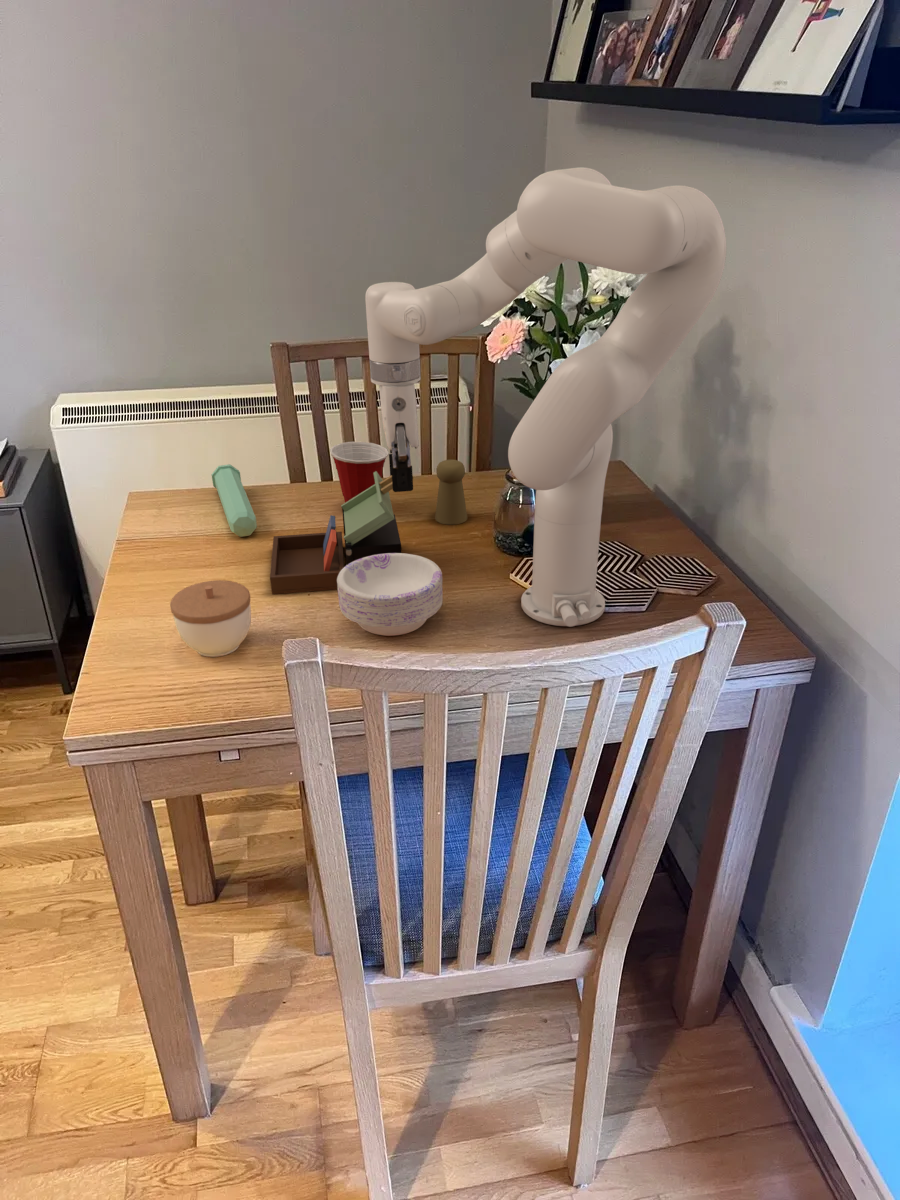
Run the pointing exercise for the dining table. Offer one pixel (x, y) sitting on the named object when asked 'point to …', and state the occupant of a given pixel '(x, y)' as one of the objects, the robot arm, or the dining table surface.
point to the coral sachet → (330, 550)
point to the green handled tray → (368, 510)
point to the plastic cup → (357, 466)
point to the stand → (374, 542)
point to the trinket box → (212, 616)
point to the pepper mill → (450, 493)
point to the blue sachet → (330, 526)
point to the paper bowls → (390, 592)
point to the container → (234, 500)
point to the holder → (304, 563)
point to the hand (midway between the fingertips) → (401, 482)
